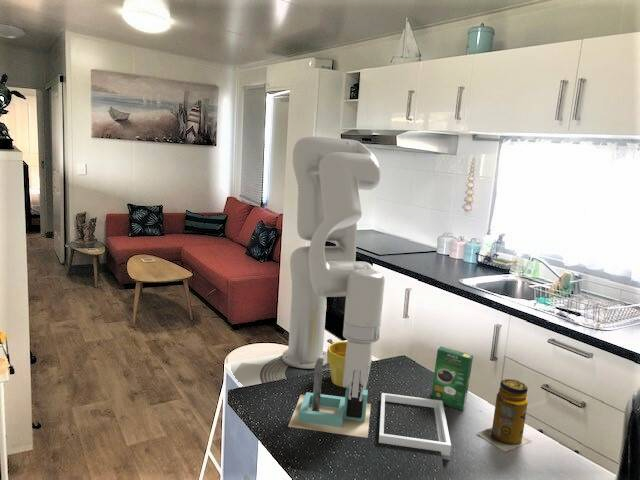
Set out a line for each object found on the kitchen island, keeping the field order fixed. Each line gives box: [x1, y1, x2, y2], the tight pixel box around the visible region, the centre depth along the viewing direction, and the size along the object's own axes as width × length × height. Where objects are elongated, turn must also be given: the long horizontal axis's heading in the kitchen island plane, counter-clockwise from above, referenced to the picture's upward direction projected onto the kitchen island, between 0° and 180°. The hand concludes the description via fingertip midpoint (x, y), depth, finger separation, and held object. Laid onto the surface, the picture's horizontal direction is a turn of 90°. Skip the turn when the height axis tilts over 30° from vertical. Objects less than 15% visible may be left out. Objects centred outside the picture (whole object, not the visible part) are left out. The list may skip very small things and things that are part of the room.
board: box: [287, 394, 372, 439], centre depth 106 cm, size 14×16×2 cm
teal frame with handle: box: [298, 387, 369, 427], centre depth 106 cm, size 9×14×6 cm, turn 82°
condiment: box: [476, 378, 532, 452], centre depth 104 cm, size 7×8×12 cm
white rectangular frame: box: [378, 392, 452, 461], centre depth 105 cm, size 18×14×3 cm
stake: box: [312, 358, 324, 412], centre depth 106 cm, size 5×2×11 cm, turn 172°
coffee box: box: [430, 345, 474, 411], centre depth 117 cm, size 8×3×13 cm, turn 59°
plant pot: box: [326, 341, 350, 389], centre depth 122 cm, size 10×10×10 cm
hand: (354, 412), depth 105 cm, fingers closed on teal frame with handle
